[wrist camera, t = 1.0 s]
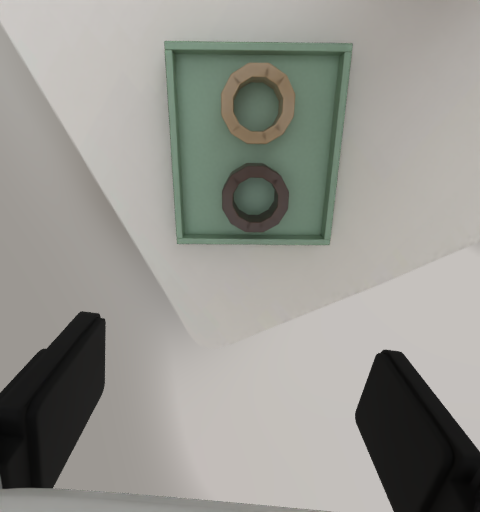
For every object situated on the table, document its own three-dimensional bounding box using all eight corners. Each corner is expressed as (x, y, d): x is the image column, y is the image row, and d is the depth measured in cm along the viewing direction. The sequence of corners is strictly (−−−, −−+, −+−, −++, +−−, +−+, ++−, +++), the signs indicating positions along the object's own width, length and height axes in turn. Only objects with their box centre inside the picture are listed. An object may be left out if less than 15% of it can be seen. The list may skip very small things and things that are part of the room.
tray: (169, 47, 28) (164, 40, 26) (345, 49, 28) (353, 43, 26) (180, 237, 34) (176, 244, 32) (324, 238, 34) (329, 245, 32)
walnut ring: (223, 162, 31) (221, 165, 28) (286, 163, 31) (290, 166, 28) (223, 223, 33) (222, 232, 30) (282, 224, 33) (286, 232, 30)
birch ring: (222, 69, 28) (220, 61, 25) (291, 70, 28) (297, 62, 25) (223, 142, 30) (221, 143, 27) (287, 143, 30) (292, 144, 27)
